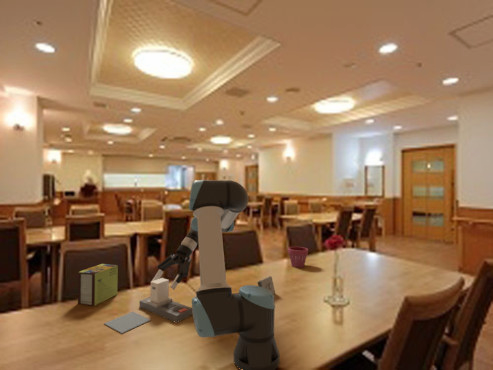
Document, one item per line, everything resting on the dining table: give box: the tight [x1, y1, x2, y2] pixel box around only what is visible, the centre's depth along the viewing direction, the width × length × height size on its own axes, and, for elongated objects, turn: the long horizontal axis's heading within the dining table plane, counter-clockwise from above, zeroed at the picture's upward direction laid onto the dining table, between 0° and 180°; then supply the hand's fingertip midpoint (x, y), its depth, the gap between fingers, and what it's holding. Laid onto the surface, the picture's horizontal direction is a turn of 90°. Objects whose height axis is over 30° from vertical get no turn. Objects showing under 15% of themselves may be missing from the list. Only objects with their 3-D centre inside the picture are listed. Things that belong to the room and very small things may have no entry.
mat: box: [104, 311, 151, 335], centre depth 114 cm, size 13×13×1 cm
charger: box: [150, 277, 170, 304], centre depth 127 cm, size 5×7×10 cm
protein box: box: [77, 263, 119, 307], centre depth 138 cm, size 10×15×16 cm
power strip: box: [139, 296, 193, 323], centre depth 125 cm, size 26×9×4 cm, turn 55°
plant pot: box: [287, 246, 309, 269], centre depth 199 cm, size 14×14×13 cm
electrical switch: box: [257, 275, 276, 295], centre depth 145 cm, size 9×5×9 cm, turn 141°
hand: (162, 285), depth 130 cm, fingers open, 13 cm apart
